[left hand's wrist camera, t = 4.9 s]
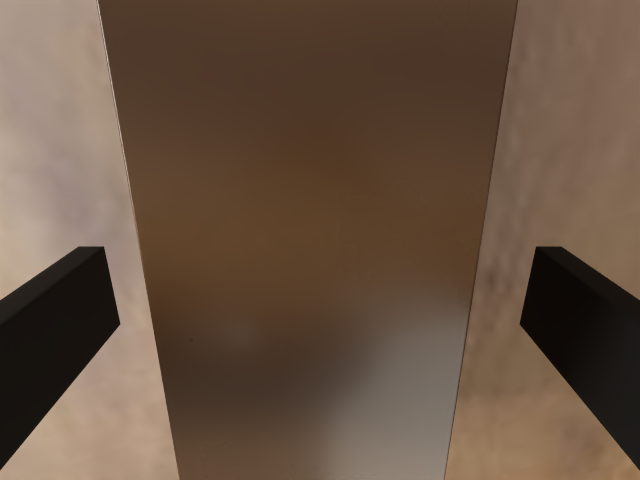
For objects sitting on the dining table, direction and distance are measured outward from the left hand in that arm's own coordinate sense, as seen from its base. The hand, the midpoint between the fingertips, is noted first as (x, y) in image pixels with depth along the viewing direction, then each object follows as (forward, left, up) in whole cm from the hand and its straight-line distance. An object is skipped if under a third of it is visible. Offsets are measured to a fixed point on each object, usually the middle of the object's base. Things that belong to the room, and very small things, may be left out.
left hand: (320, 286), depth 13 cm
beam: (+28, +6, -3) cm, 28 cm away
